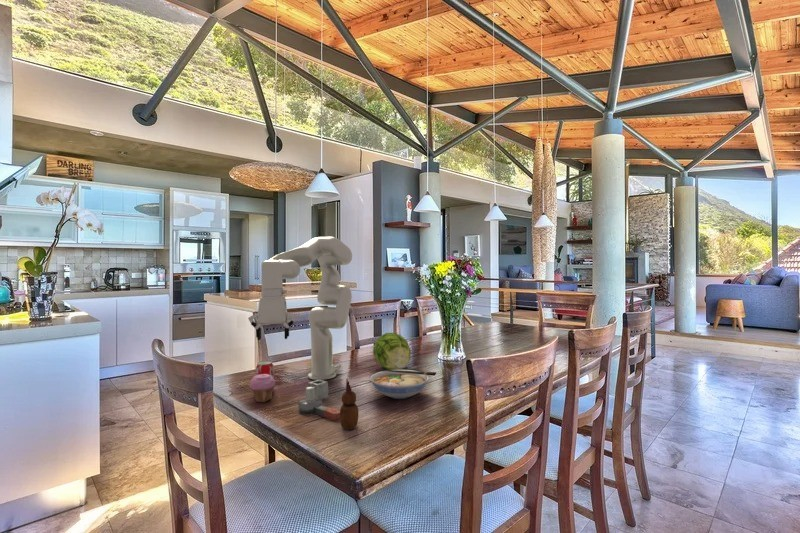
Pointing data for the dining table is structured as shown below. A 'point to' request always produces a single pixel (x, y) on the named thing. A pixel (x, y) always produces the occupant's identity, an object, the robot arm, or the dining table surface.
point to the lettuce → (392, 351)
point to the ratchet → (317, 406)
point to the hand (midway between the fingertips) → (272, 338)
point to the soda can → (265, 368)
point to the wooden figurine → (348, 409)
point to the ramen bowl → (400, 382)
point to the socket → (320, 388)
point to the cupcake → (262, 387)
